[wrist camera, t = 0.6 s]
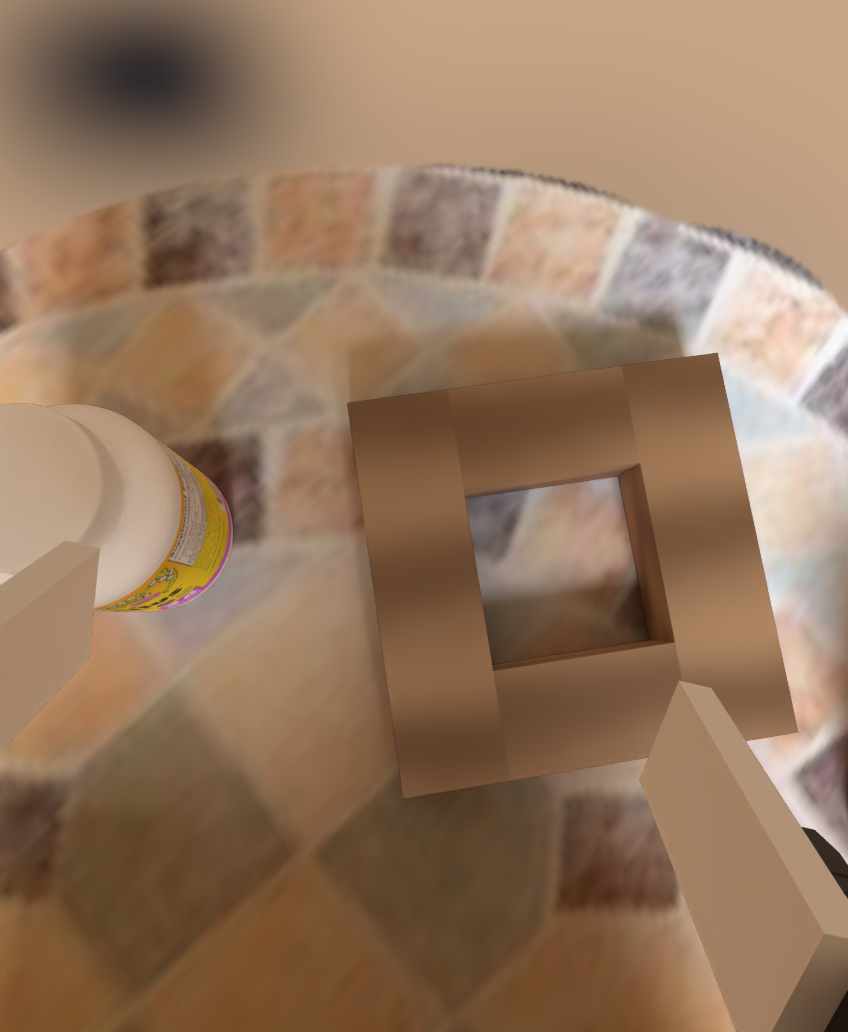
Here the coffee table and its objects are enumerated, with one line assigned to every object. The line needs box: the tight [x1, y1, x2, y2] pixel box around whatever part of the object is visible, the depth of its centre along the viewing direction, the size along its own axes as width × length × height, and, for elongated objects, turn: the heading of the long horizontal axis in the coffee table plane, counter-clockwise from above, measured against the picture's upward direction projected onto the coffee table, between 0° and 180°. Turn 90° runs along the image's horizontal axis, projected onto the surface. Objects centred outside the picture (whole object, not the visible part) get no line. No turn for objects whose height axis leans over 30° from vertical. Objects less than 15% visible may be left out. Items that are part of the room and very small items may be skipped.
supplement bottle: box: [0, 403, 233, 612], centre depth 26 cm, size 7×7×13 cm
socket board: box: [347, 353, 798, 799], centre depth 31 cm, size 16×16×3 cm
